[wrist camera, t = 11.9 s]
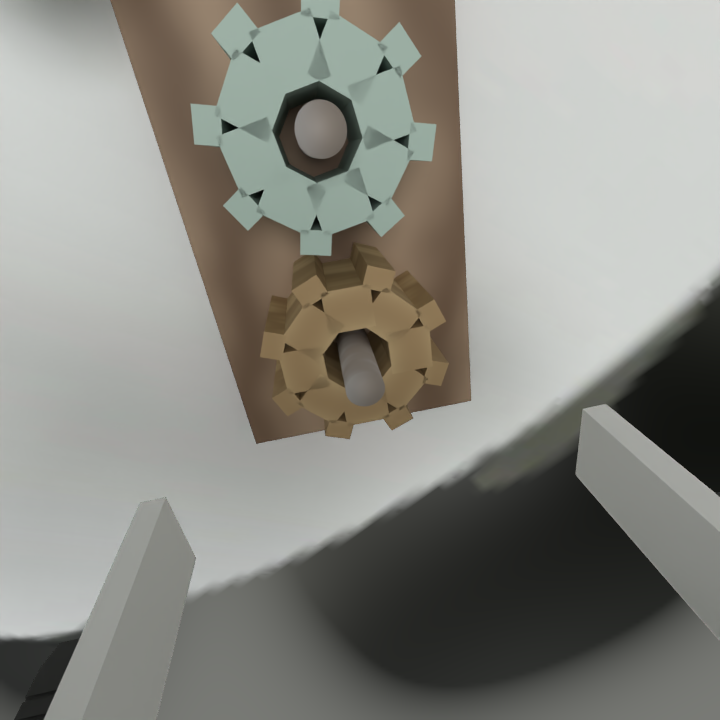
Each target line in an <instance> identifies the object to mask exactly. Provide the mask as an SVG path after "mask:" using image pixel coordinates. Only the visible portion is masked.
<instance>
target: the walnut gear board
mask: <svg viewBox="0 0 720 720" xmlns="http://www.w3.org/2000/svg"><path fill="white" fill-rule="evenodd" d="M110 1H111V4H112V7H113V10H114V13H115V16H116V19H117V22H118V25H119V28H120V31H121V34H122V37H123V40H124V43H125V46H126V49H127V52H128V55H129V58H130V61H131V64H132V67H133V70H134V74H135V77H136V80H137V83H138V86H139V89H140V92H141V95H142V98H143V101H144V104H145V107H146V110H147V113H148V116H149V119H150V122H151V125H152V128H153V131H154V134H155V137H156V140H157V143H158V146H159V149H160V152H161V155H162V159H163V162H164V165H165V168H166V171H167V174H168V177H169V180H170V183H171V186H172V189H173V192H174V195H175V198H176V201H177V204H178V207H179V210H180V213H181V216H182V219H183V222H184V225H185V228H186V231H187V234H188V237H189V240H190V244H191V247H192V250H193V253H194V256H195V259H196V262H197V265H198V268H199V271H200V274H201V277H202V280H203V283H204V286H205V289H206V292H207V295H208V298H209V301H210V304H211V307H212V310H213V313H214V316H215V319H216V322H217V326H218V329H219V332H220V335H221V338H222V341H223V344H224V347H225V350H226V353H227V356H228V359H229V362H230V365H231V368H232V371H233V374H234V377H235V380H236V383H237V386H238V389H239V392H240V395H241V398H242V401H243V404H244V407H245V411H246V414H247V417H248V420H249V423H250V426H251V429H252V432H253V435H254V438H255V441H256V444H257V443H262V442H267V441H272V440H277V439H282V438H287V437H292V436H297V435H302V434H307V433H312V432H317V431H322V430H325V425H324V419H323V418H321V417H319V416H317V415H316V414H314V413H312V412H310V411H308V410H306V409H304V408H301V409H299V410H298V411H296V412H294V413H293V414H291V415H289V416H287V415H286V414H285V413H284V412H283V410H282V409H281V408H280V407H279V406H278V405H277V403H276V402H275V401H274V400H273V399H272V394H273V386H274V378H275V370H276V362H277V360H275V359H269V358H263V357H260V354H261V348H262V341H263V335H264V330H265V325H266V320H267V316H268V311H269V307H270V302H271V297H272V295H273V296H278V297H283V298H288V297H289V296H290V294H291V293H292V291H291V289H292V277H293V264H294V262H295V261H296V260H298V259H299V258H301V257H302V256H304V255H300V232H298V231H296V230H293V229H291V228H289V227H287V226H285V225H283V224H281V223H279V222H276V221H274V220H272V219H270V218H268V217H266V216H264V215H263V216H262V217H261V218H260V219H259V220H258V221H257V222H256V223H255V224H254V225H253V226H252V227H251V228H250V229H249V230H247V229H246V228H245V227H244V226H243V225H242V224H241V223H240V222H239V221H238V220H237V219H236V218H235V217H234V216H233V215H232V214H231V213H230V212H229V211H228V210H227V209H226V208H225V207H224V206H223V205H224V204H225V203H226V202H227V201H228V200H229V199H230V198H231V197H232V196H233V195H234V194H235V193H236V191H237V190H238V187H237V185H236V182H235V180H234V178H233V176H232V173H231V171H230V169H229V167H228V164H227V162H226V160H225V157H224V155H223V153H222V151H221V148H220V147H212V146H204V145H195V144H194V135H193V125H192V114H191V104H201V105H212V106H217V103H218V100H219V97H220V93H221V90H222V87H223V84H224V80H225V77H226V74H227V71H228V68H229V64H230V61H231V60H230V59H229V57H228V56H227V54H226V53H225V52H224V50H223V49H222V48H221V46H220V45H219V44H218V42H217V41H216V40H215V38H214V37H213V36H212V34H211V33H212V32H213V30H214V29H215V28H216V27H217V26H218V25H219V23H220V22H221V21H222V20H223V19H224V17H225V16H226V15H227V14H228V13H229V12H230V10H231V9H232V8H233V7H234V6H235V5H236V3H238V4H239V5H240V7H241V8H242V9H243V10H244V12H245V13H246V14H247V15H248V17H249V18H250V19H251V21H252V22H253V23H254V24H255V26H256V27H257V28H260V27H262V26H265V25H267V24H270V23H272V22H275V21H277V20H280V19H283V18H285V17H288V16H290V15H293V14H295V13H298V12H300V11H301V0H110ZM339 16H341V17H342V18H344V19H345V20H347V21H348V22H350V23H351V24H353V25H355V26H356V27H358V28H359V29H361V30H362V31H364V32H365V33H367V34H368V35H370V36H372V37H373V38H375V39H376V40H378V41H379V42H381V41H382V40H383V38H384V37H385V36H386V35H387V34H388V33H389V32H390V31H391V30H392V29H393V28H394V27H395V26H396V25H397V24H398V23H399V22H400V24H401V25H402V27H403V28H404V30H405V31H406V33H407V35H408V36H409V38H410V39H411V41H412V42H413V44H414V45H415V47H416V49H417V50H418V52H419V53H420V55H421V57H420V58H419V59H418V60H417V61H416V62H415V63H414V64H413V65H412V66H411V67H410V68H409V69H408V70H407V71H406V72H405V73H404V75H403V80H404V84H405V88H406V92H407V96H408V100H409V104H410V109H411V113H412V117H413V121H414V122H415V123H427V124H436V132H435V140H434V148H433V156H432V161H409V163H408V165H407V167H406V169H405V171H404V173H403V175H402V178H401V180H400V182H399V184H398V186H397V188H396V190H395V192H394V194H393V196H392V198H391V199H392V200H393V201H394V203H395V204H396V205H397V206H398V208H399V209H400V210H401V212H402V213H403V214H404V215H405V216H404V217H403V218H402V219H401V220H399V221H398V222H397V223H396V224H395V225H394V226H393V227H392V228H391V229H390V230H389V231H387V232H386V233H385V234H384V235H383V236H382V237H381V236H380V235H379V234H378V233H377V232H376V231H375V230H374V229H373V228H372V227H371V226H370V225H369V224H368V223H367V222H363V223H360V224H358V225H355V226H352V227H350V228H347V229H344V230H342V231H339V232H336V233H334V234H332V246H331V256H321V255H317V256H318V258H319V259H320V261H321V262H322V263H326V262H331V261H337V260H342V259H348V258H350V256H351V251H352V247H353V243H354V242H355V243H360V244H364V245H369V246H373V247H376V248H377V249H378V250H379V251H380V253H381V254H382V255H383V256H384V258H385V259H386V260H387V261H388V262H389V264H390V265H391V266H392V267H393V269H394V270H395V271H396V273H395V276H394V278H396V277H397V276H399V275H400V274H402V273H404V272H405V271H408V272H409V273H410V274H411V275H412V276H413V277H414V278H415V279H416V280H417V281H418V282H419V283H420V285H421V286H422V287H423V288H424V289H425V290H426V291H427V292H428V293H429V294H430V295H431V296H432V297H433V299H434V300H435V302H436V304H437V305H438V307H439V309H440V311H441V313H442V314H443V316H444V318H445V320H446V322H444V323H443V324H441V325H439V326H438V327H436V328H434V329H433V330H431V331H430V337H431V339H432V340H433V342H434V343H435V344H436V346H437V347H438V349H439V350H440V351H441V353H442V354H443V356H444V357H445V359H446V360H447V361H448V363H449V365H448V368H447V370H446V373H445V376H444V379H443V382H442V384H441V386H438V385H431V384H425V383H424V385H423V386H422V387H421V388H420V389H419V390H418V392H417V393H416V394H415V395H414V396H413V398H412V399H411V400H410V401H409V402H408V403H407V405H408V408H409V410H410V412H411V413H412V412H417V411H422V410H427V409H432V408H437V407H442V406H447V405H452V404H457V403H462V402H467V401H471V385H470V361H469V336H468V312H467V287H466V263H465V239H464V214H463V190H462V165H461V141H460V116H459V92H458V68H457V43H456V19H455V0H340V7H339ZM279 137H280V140H281V143H282V145H283V148H284V151H285V153H286V156H287V159H288V161H289V164H290V165H292V166H293V167H295V168H297V169H299V170H301V171H303V172H305V173H307V174H309V175H311V176H313V177H315V176H317V175H320V174H323V173H325V172H328V171H331V170H333V169H336V168H338V166H339V163H340V161H341V159H342V156H343V154H344V151H345V149H346V147H347V144H348V139H347V125H346V121H345V118H344V116H343V114H342V112H341V111H340V109H339V108H338V107H337V106H336V105H334V104H333V103H331V102H329V101H327V100H321V99H318V100H312V101H310V102H307V103H304V104H302V105H299V106H297V107H294V108H292V109H289V112H288V115H287V117H286V120H285V123H284V125H283V128H282V131H281V134H280V136H279ZM369 331H370V330H369V329H367V328H363V329H357V330H352V331H347V332H342V333H338V335H337V336H336V337H335V339H334V340H333V342H335V343H337V347H338V352H339V358H340V363H341V368H342V374H343V379H344V385H345V390H346V395H347V397H348V399H349V400H350V401H351V402H352V403H353V404H355V405H358V406H370V405H373V404H375V403H377V402H378V401H379V400H380V399H381V398H382V397H383V395H384V392H385V384H384V381H383V378H382V376H381V373H380V370H379V367H378V365H377V362H376V359H375V356H374V354H373V351H372V348H371V345H370V342H369V340H368V337H367V334H368V333H369Z"/></svg>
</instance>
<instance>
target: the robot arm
mask: <svg viewBox="0 0 720 720" xmlns="http://www.w3.org/2000/svg"><path fill="white" fill-rule="evenodd" d="M576 476H577V477H578V478H579V479H580V480H581V482H582V483H583V484H584V485H585V486H586V487H587V488H588V490H589V491H590V492H591V493H592V494H593V495H594V497H595V498H596V499H597V500H598V501H599V502H600V503H601V505H602V506H603V507H604V508H605V509H606V510H607V512H608V513H609V514H610V515H611V516H612V517H613V518H614V520H615V521H616V522H617V523H618V524H619V525H620V527H621V528H622V529H623V530H624V531H625V532H626V534H627V535H628V536H629V537H630V538H631V539H632V540H633V542H634V543H635V544H636V545H637V546H638V547H639V549H640V550H641V551H642V552H643V553H644V554H645V555H646V556H647V558H648V559H649V560H650V561H651V562H652V564H653V565H654V566H655V567H656V568H657V569H658V570H659V572H660V573H661V574H662V575H663V576H664V577H665V579H666V580H667V581H668V582H669V583H670V584H671V585H672V587H673V588H674V589H675V590H676V591H677V592H678V593H679V595H680V596H681V597H682V598H683V599H684V601H685V602H686V603H687V604H688V605H689V606H690V608H691V609H692V610H693V611H694V612H695V613H696V614H697V616H698V617H699V618H700V619H701V620H702V621H703V622H704V624H705V625H706V626H707V627H708V628H709V629H710V631H711V632H712V633H713V634H714V635H715V636H716V638H717V639H718V640H719V641H720V492H719V493H714V492H713V491H712V490H711V489H709V488H708V487H707V486H706V485H704V484H703V483H702V482H701V481H699V480H698V479H697V478H696V477H695V476H693V475H692V474H691V473H690V472H688V471H687V470H686V469H685V468H683V467H682V466H681V465H680V464H678V463H677V462H676V461H675V460H674V459H672V458H671V457H670V456H669V455H667V454H666V453H665V452H664V451H663V450H661V449H660V448H659V447H658V446H656V445H655V444H654V443H653V442H652V441H650V440H649V439H648V438H647V437H646V436H644V435H643V434H642V433H641V432H639V431H638V430H637V429H636V428H635V427H633V426H632V425H631V424H629V423H628V422H627V421H626V420H625V419H623V418H622V417H621V416H620V415H619V414H617V413H616V412H615V411H614V410H612V409H611V408H610V407H609V406H608V405H606V404H604V405H599V406H595V407H590V408H585V409H583V412H582V421H581V430H580V439H579V448H578V457H577V467H576ZM195 560H196V557H195V555H194V553H193V551H192V549H191V547H190V545H189V543H188V541H187V539H186V537H185V535H184V533H183V531H182V529H181V527H180V525H179V523H178V521H177V519H176V517H175V515H174V513H173V511H172V509H171V507H170V505H169V503H168V501H167V499H166V497H165V498H160V499H155V500H150V501H146V502H141V503H140V504H139V506H138V508H137V511H136V513H135V515H134V517H133V520H132V522H131V524H130V526H129V529H128V531H127V533H126V535H125V538H124V540H123V542H122V544H121V547H120V549H119V551H118V553H117V556H116V558H115V560H114V562H113V565H112V567H111V569H110V571H109V574H108V576H107V578H106V580H105V583H104V585H103V587H102V589H101V592H100V594H99V596H98V598H97V601H96V603H95V605H94V608H93V610H92V612H91V614H90V617H89V619H88V621H87V623H86V626H85V628H84V630H83V632H82V635H81V637H80V638H79V639H75V640H70V641H66V642H61V643H60V644H59V645H58V646H57V648H56V649H55V650H54V651H53V653H52V654H51V655H50V657H49V658H48V659H47V660H46V661H45V663H44V664H43V665H42V666H41V668H40V669H39V671H38V673H37V675H36V677H35V679H34V681H33V683H32V685H31V687H30V689H29V691H28V693H27V695H26V701H25V702H23V703H22V705H21V707H20V709H19V711H18V713H17V715H16V717H15V719H14V720H156V718H157V715H158V711H159V707H160V703H161V698H162V694H163V690H164V686H165V682H166V678H167V674H168V670H169V666H170V661H171V658H172V654H173V650H174V646H175V641H176V637H177V633H178V629H179V625H180V621H181V617H182V613H183V609H184V605H185V601H186V597H187V593H188V589H189V584H190V580H191V576H192V572H193V568H194V564H195Z"/></svg>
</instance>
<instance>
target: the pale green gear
mask: <svg viewBox="0 0 720 720" xmlns="http://www.w3.org/2000/svg"><path fill="white" fill-rule="evenodd" d="M339 7H340V0H301V11H300V12H298V13H295V14H293V15H290V16H288V17H285V18H283V19H280V20H277V21H275V22H272V23H270V24H267V25H265V26H262V27H260V28H257V27H256V26H255V24H254V23H253V22H252V21H251V19H250V18H249V17H248V15H247V14H246V13H245V12H244V10H243V9H242V8H241V7H240V5H239V4H238V3H236V5H235V6H234V7H233V8H232V9H231V10H230V12H229V13H228V14H227V15H226V16H225V17H224V19H223V20H222V21H221V22H220V23H219V25H218V26H217V27H216V28H215V29H214V30H213V32H212V33H211V34H212V36H213V37H214V38H215V40H216V41H217V42H218V44H219V45H220V46H221V48H222V49H223V50H224V52H225V53H226V54H227V56H228V57H229V59H230V60H231V61H230V64H229V68H228V71H227V74H226V77H225V80H224V84H223V87H222V90H221V93H220V97H219V100H218V103H217V106H212V105H201V104H191V114H192V125H193V135H194V144H195V145H204V146H212V147H220V148H221V151H222V153H223V155H224V157H225V160H226V162H227V164H228V167H229V169H230V171H231V173H232V176H233V178H234V180H235V182H236V185H237V187H238V190H237V191H236V193H235V194H234V195H233V196H232V197H231V198H230V199H229V200H228V201H227V202H226V203H225V204H224V205H223V206H224V207H225V208H226V209H227V210H228V211H229V212H230V213H231V214H232V215H233V216H234V217H235V218H236V219H237V220H238V221H239V222H240V223H241V224H242V225H243V226H244V227H245V228H246V229H247V230H249V229H250V228H251V227H252V226H253V225H254V224H255V223H256V222H257V221H258V220H259V219H260V218H261V217H262V216H263V215H264V216H266V217H268V218H270V219H272V220H274V221H276V222H279V223H281V224H283V225H285V226H287V227H289V228H291V229H293V230H296V231H298V232H300V255H321V256H331V246H332V234H334V233H336V232H339V231H342V230H344V229H347V228H350V227H352V226H355V225H358V224H360V223H363V222H367V223H368V224H369V225H370V226H371V227H372V228H373V229H374V230H375V231H376V232H377V233H378V234H379V235H380V236H381V237H382V236H383V235H384V234H385V233H386V232H387V231H389V230H390V229H391V228H392V227H393V226H394V225H395V224H396V223H397V222H398V221H399V220H401V219H402V218H403V217H404V216H405V215H404V214H403V213H402V212H401V210H400V209H399V208H398V206H397V205H396V204H395V203H394V201H393V200H392V199H391V198H392V196H393V194H394V192H395V190H396V188H397V186H398V184H399V182H400V180H401V178H402V175H403V173H404V171H405V169H406V167H407V165H408V163H409V161H432V156H433V148H434V140H435V132H436V124H427V123H415V122H414V121H413V117H412V113H411V109H410V104H409V100H408V96H407V92H406V88H405V84H404V80H403V75H404V73H405V72H406V71H407V70H408V69H409V68H410V67H411V66H412V65H413V64H414V63H415V62H416V61H417V60H418V59H419V58H420V57H421V55H420V53H419V52H418V50H417V49H416V47H415V45H414V44H413V42H412V41H411V39H410V38H409V36H408V35H407V33H406V31H405V30H404V28H403V27H402V25H401V24H400V22H399V23H398V24H397V25H396V26H395V27H394V28H393V29H392V30H391V31H390V32H389V33H388V34H387V35H386V36H385V37H384V38H383V40H382V41H381V42H379V41H378V40H376V39H375V38H373V37H372V36H370V35H368V34H367V33H365V32H364V31H362V30H361V29H359V28H358V27H356V26H355V25H353V24H351V23H350V22H348V21H347V20H345V19H344V18H342V17H341V16H339ZM318 99H321V100H327V101H329V102H331V103H333V104H334V105H336V106H337V107H338V108H339V109H340V111H341V112H342V114H343V116H344V118H345V121H346V125H347V139H348V144H347V147H346V149H345V151H344V154H343V156H342V159H341V161H340V163H339V166H338V168H336V169H333V170H331V171H328V172H325V173H323V174H320V175H317V176H315V177H313V176H311V175H309V174H307V173H305V172H303V171H301V170H299V169H297V168H295V167H293V166H292V165H290V164H289V161H288V159H287V156H286V153H285V151H284V148H283V145H282V143H281V140H280V137H279V136H280V134H281V131H282V128H283V125H284V123H285V120H286V117H287V115H288V112H289V109H292V108H294V107H297V106H299V105H302V104H304V103H307V102H310V101H312V100H318Z"/></svg>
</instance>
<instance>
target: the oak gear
mask: <svg viewBox="0 0 720 720" xmlns="http://www.w3.org/2000/svg"><path fill="white" fill-rule="evenodd" d="M395 273H396V271H395V270H394V269H393V267H392V266H391V265H390V264H389V262H388V261H387V260H386V259H385V258H384V256H383V255H382V254H381V253H380V251H379V250H378V249H377V248H376V247H373V246H369V245H364V244H360V243H355V242H354V243H353V247H352V251H351V256H350V258H348V259H342V260H337V261H331V262H326V263H322V262H321V261H320V259H319V258H318V256H317V255H304V256H302V257H301V258H299V259H298V260H296V261H295V262H294V264H293V277H292V289H291V291H292V293H291V294H290V296H289V297H288V298H283V297H278V296H273V295H272V297H271V302H270V307H269V311H268V316H267V320H266V325H265V330H264V335H263V341H262V348H261V354H260V357H263V358H269V359H275V360H277V362H276V370H275V378H274V386H273V394H272V399H273V400H274V401H275V402H276V403H277V405H278V406H279V407H280V408H281V409H282V410H283V412H284V413H285V414H286V415H287V416H289V415H291V414H293V413H294V412H296V411H298V410H299V409H301V408H304V409H306V410H308V411H310V412H312V413H314V414H316V415H317V416H319V417H321V418H323V419H324V425H325V436H330V437H338V438H346V439H350V436H351V432H352V429H353V425H355V424H360V423H365V422H370V421H375V420H380V419H384V420H385V422H386V423H387V425H388V426H389V427H390V429H391V430H393V429H395V428H397V427H399V426H400V425H402V424H404V423H406V422H407V421H409V420H411V419H413V417H412V415H411V412H410V410H409V408H408V405H407V403H408V402H409V401H410V400H411V399H412V398H413V396H414V395H415V394H416V393H417V392H418V390H419V389H420V388H421V387H422V386H423V385H424V383H425V384H431V385H438V386H441V384H442V382H443V379H444V376H445V373H446V370H447V368H448V365H449V363H448V361H447V360H446V359H445V357H444V356H443V354H442V353H441V351H440V350H439V349H438V347H437V346H436V344H435V343H434V342H433V340H432V339H431V337H430V331H431V330H433V329H434V328H436V327H438V326H439V325H441V324H443V323H444V322H446V320H445V318H444V316H443V314H442V313H441V311H440V309H439V307H438V305H437V304H436V302H435V300H434V299H433V297H432V296H431V295H430V294H429V293H428V292H427V291H426V290H425V289H424V288H423V287H422V286H421V285H420V283H419V282H418V281H417V280H416V279H415V278H414V277H413V276H412V275H411V274H410V273H409V272H408V271H405V272H404V273H402V274H400V275H399V276H397V277H396V278H394V276H395ZM363 328H367V329H369V330H370V331H369V333H368V334H367V337H368V340H369V342H370V345H371V348H372V351H373V354H374V356H375V359H376V362H377V365H378V367H379V370H380V373H381V376H382V378H383V381H384V384H385V392H384V395H383V397H382V398H381V399H380V400H379V401H378V402H377V403H375V404H373V405H370V406H358V405H355V404H353V403H352V402H351V401H350V400H349V399H348V397H347V395H346V390H345V385H344V379H343V374H342V368H341V363H340V358H339V352H338V347H337V343H335V342H333V340H334V339H335V337H336V336H337V335H338V333H342V332H347V331H352V330H357V329H363Z"/></svg>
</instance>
